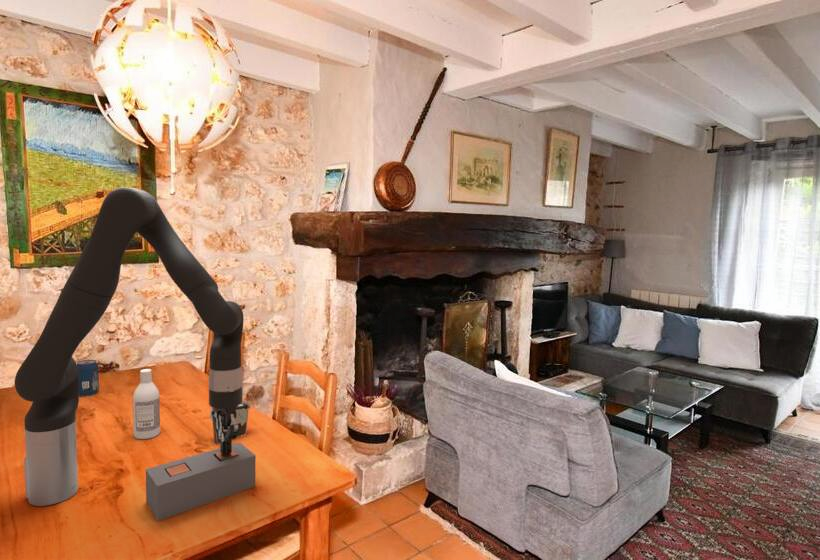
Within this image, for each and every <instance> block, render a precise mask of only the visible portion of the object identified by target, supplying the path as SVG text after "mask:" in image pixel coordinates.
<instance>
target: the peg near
mask: <svg viewBox="0 0 820 560" xmlns="http://www.w3.org/2000/svg"><path fill="white" fill-rule="evenodd" d="M188 471H190V470H189V469H188V467H187V466H186V465H185V464H181V465H178V466H174V467H171V468H167V469H166V472H167V473H168V475H169V476H170V477H172V476H175V475H178V474H182V473H185V472H188Z"/></svg>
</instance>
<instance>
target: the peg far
mask: <svg viewBox="0 0 820 560" xmlns="http://www.w3.org/2000/svg"><path fill="white" fill-rule="evenodd" d="M215 457H216V458H217V459H218V460H219V461H220V462H221V461H224V460H228V459H231V458H234V457H237V454H236V453H235V452H234V451H233V450H232V452H231V454H228V455H225V456H224V455H222V454H221V453H220V452H216V453H215Z"/></svg>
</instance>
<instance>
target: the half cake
mask: <svg viewBox="0 0 820 560" xmlns="http://www.w3.org/2000/svg"><path fill="white" fill-rule="evenodd" d="M249 409H251V404H250V402H249V401H245V400H242V403H241V404H240V405H238V406H237V407H236V412H237V419H236V422H237V424H238V423H241V429H240V431H239V433H238V436H237V437H238V438H240V437H239V436H241V435H244V434H246V435H247V428H248V427H247V426H248V418H249ZM213 410H216V409H215V408H212V407H211V410H210V413H209V418H210V419H211V420H212V421H211V422H212V429H213V438H214V439H213V440H214V443H215V444H216V445H217V444H218V445H220V439H219V434H217V433H216V430H215V426H214V422H213V418H212V414H211V411H213ZM244 436H245V435H244ZM241 437H242V436H241Z"/></svg>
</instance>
